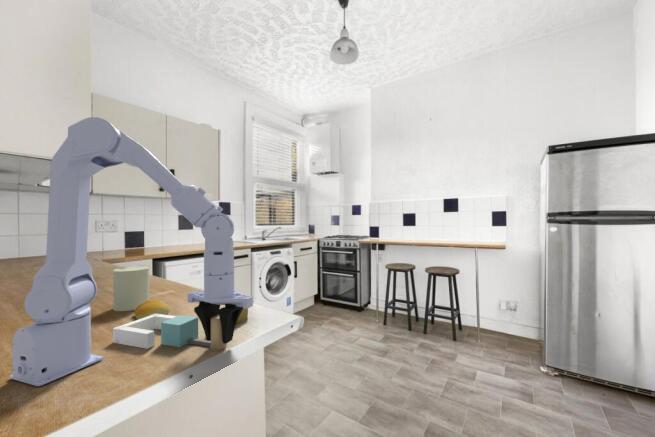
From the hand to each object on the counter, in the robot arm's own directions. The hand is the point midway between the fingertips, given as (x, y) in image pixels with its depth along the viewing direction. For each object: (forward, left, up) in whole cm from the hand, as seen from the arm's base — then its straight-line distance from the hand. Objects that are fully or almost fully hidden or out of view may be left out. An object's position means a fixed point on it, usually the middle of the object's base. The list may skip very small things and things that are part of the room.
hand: (219, 340), depth 58 cm
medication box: (+11, +6, -2) cm, 12 cm away
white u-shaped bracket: (0, +18, -1) cm, 18 cm away
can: (+15, +45, -2) cm, 47 cm away
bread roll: (+11, +32, -2) cm, 34 cm away
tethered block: (0, +6, -1) cm, 6 cm away
